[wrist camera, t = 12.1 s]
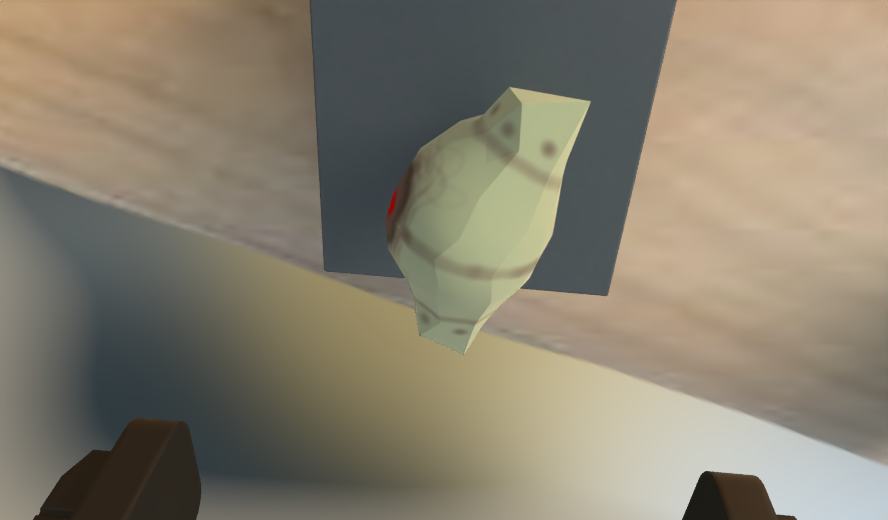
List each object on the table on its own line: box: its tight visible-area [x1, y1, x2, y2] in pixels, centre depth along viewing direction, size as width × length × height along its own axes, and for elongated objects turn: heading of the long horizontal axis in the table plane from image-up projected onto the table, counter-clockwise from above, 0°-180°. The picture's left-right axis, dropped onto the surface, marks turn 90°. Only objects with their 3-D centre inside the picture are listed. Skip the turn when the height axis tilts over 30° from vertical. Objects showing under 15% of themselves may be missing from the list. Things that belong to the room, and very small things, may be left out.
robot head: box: [385, 87, 591, 355], centre depth 18 cm, size 8×4×7 cm, turn 160°
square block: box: [310, 0, 677, 296], centre depth 23 cm, size 10×10×5 cm
